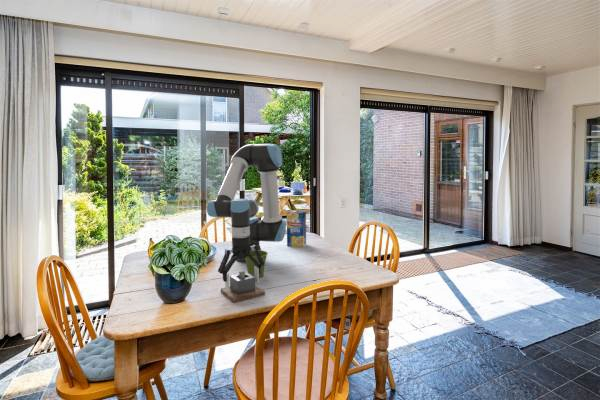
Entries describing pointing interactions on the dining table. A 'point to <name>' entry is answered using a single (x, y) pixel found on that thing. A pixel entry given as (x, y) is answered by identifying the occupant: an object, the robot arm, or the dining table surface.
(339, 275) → the dining table surface
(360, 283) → the dining table surface
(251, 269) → the plant pot
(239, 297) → the stand
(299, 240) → the beverage box
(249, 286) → the grey square block
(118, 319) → the dining table surface
